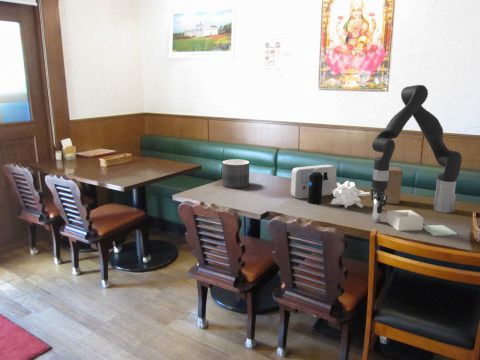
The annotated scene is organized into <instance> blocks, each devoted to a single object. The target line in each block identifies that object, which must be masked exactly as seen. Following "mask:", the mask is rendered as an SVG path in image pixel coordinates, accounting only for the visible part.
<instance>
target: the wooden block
mask: <svg viewBox="0 0 480 360" xmlns="http://www.w3.org/2000/svg"><path fill="white" fill-rule="evenodd" d="M403 174H404V171H403V170H402V168H401V167H398V166H389V179H388V188H387V189H385V190H384V192H385V194H384V195H385V196H387V200H386V204H390V205H399V204H400V200H401V191H402V183H403V182H402V181H403ZM383 203H384V202H383Z"/></svg>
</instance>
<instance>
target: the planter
mask: <svg viewBox="0 0 480 360" xmlns="http://www.w3.org/2000/svg"><path fill="white" fill-rule="evenodd" d="M221 165H222V186H223V187H224V188H229V189H243V188H248V187H249V186H250V161H249V160H246V159H237V158H235V159H226V160H223V161H222V164H221Z"/></svg>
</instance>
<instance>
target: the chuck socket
mask: <svg viewBox="0 0 480 360" xmlns="http://www.w3.org/2000/svg"><path fill="white" fill-rule="evenodd" d="M386 223H387V224H388V225H390V226H391V227H393V229H395V230H396V231H399V232H403V231H405V232H406V231H422V230H423V228H422V227H423V226H424V216H421V215H419V214H418V213H416V211H414V210H411V209H401V210H399V209H397V210H395V209H393V210H387V215H386Z"/></svg>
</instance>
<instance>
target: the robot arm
mask: <svg viewBox="0 0 480 360" xmlns="http://www.w3.org/2000/svg"><path fill="white" fill-rule="evenodd" d="M428 95H429V91H428V88H427V87H426V86H425V85H423V84H415V85H410V86H405V87H404V88H402V90H401V92H400V97H401V101H402V103H403V104H404V107H403V108H402V109H401V110H399V111H398V112H397V113H396V114H394V116H393V117H392V118H390V120H389V122H388V123H387V125H386V127H385V128H384V129H383V130H382V131H381V132H380V133H378V135H376V136H375V138H374V139H373V141H372V143H371V147H372V150H374V151H375V152H378V153H383V154H382V155H381V156H378V157H377V156H376V157H375V159H374V162H373V163H374V164H373V171H372V177H371V178H372V179H371V187H372V188H370V197H371V199H370V200H371V201H372V203H373V205H372V207H373V206H374V194H376V196H377V198H376V201H377V205H378V206H377V213H378V214H380V213H381V214H382V212H383V207H385V206H386V204H387V203H386V200H387V196H385V195H384V194H385V192H384V190H385V189H387V188H388V179H389V167H390V161H391V160H392V156H393V154H394V152H395V148H396V142H395V141H394V139H396V138H398V136H400V134H401V133H402V131H403V129H404V127H405V126H406V124H407V123H408V121H409V120H410V119H411V118H412V117H413V118H414V120H415V122H416V124H417V126H418V127H419V129H420V131H421V133H422V134H423V136H424V138H425V139H426V141H427V143H428V144H429V146H430V148H431V151H432V153H433V156H434V158H435V160H436V163H438V164H439V165H440V166H441V167H444V171H443V172H440V173H438V174H437V178H436V187H435V194H434V201H433V211H435V212H437V213H444V214H448V213H453V212H454V211H455V206H456V205H455V204H456V199H457V198H456V197H457V194H455V192H456V185H457V179H458V177H459V176H460V170H461V167H462V161H463V159H462V154H461V153H460V152H458V151H455V150H451V149H449V148H448V147H447V146H446V144H445V142H444V140H443V137H444V129H443V126H442V124H441V123H440V120H439V119H438V117H436V116H435V115H434V114H433V113H432V112H430V111H428V110H427V109H426V108H425V107H424V106H423V104H424V103H426V101H427V98H428V97H429V96H428ZM379 199H381V200H379ZM379 202H380V203H379ZM383 202H384V203H383Z"/></svg>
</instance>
